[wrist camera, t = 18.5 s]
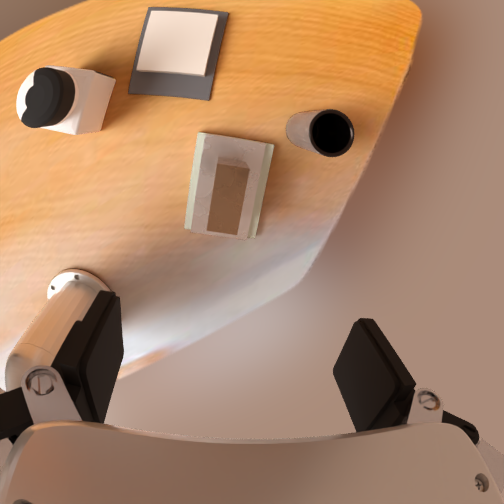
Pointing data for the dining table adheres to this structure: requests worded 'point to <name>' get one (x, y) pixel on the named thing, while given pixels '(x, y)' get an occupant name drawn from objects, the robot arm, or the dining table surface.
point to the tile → (177, 43)
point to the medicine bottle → (65, 99)
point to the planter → (321, 132)
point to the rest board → (259, 191)
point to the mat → (178, 82)
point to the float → (227, 186)
